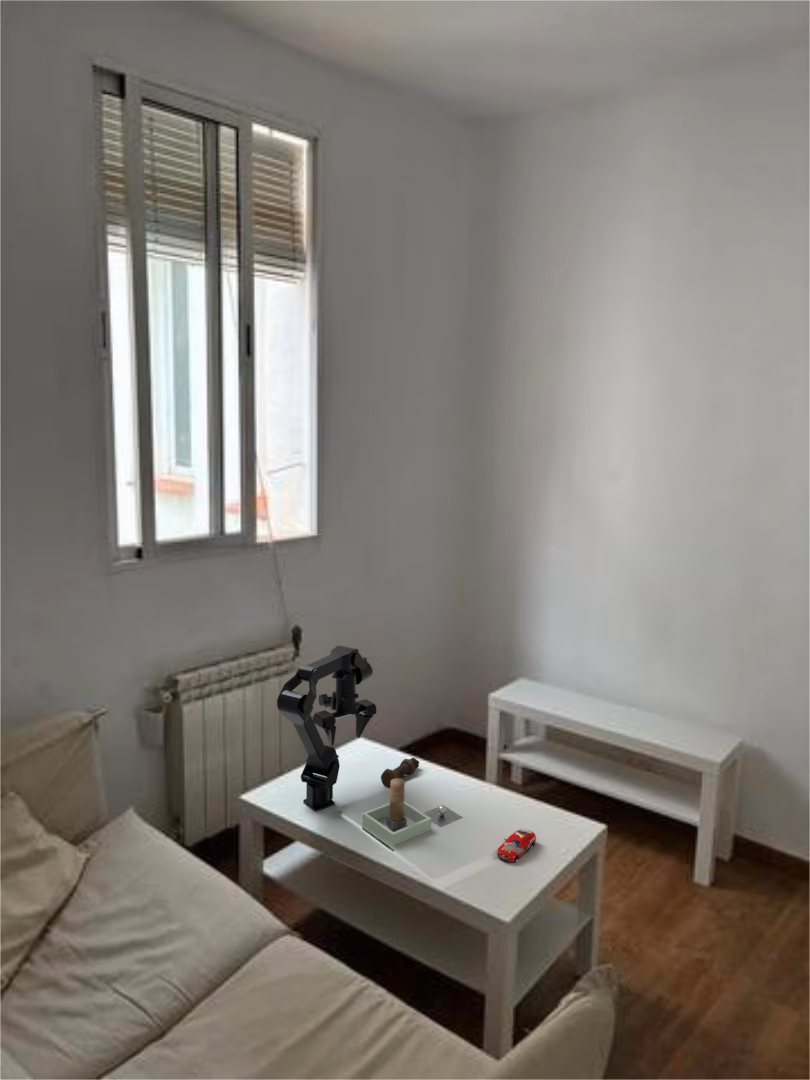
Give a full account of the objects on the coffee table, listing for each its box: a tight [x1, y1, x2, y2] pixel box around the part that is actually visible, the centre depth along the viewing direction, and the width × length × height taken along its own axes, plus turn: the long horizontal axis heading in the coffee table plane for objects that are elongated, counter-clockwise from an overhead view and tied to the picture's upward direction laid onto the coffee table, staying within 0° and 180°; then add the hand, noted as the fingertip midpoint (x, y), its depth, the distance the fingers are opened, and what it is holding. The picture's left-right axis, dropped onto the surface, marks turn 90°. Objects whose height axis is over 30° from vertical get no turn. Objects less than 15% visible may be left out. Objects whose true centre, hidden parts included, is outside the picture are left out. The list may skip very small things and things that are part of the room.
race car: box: [496, 828, 537, 863], centre depth 198 cm, size 13×5×4 cm, turn 140°
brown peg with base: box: [385, 778, 408, 832], centre depth 204 cm, size 4×4×13 cm
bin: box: [361, 800, 432, 852], centre depth 205 cm, size 13×13×4 cm
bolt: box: [380, 757, 420, 789], centre depth 234 cm, size 6×5×15 cm
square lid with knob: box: [422, 804, 464, 828], centre depth 211 cm, size 8×8×4 cm
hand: (344, 741), depth 227 cm, fingers open, 9 cm apart
